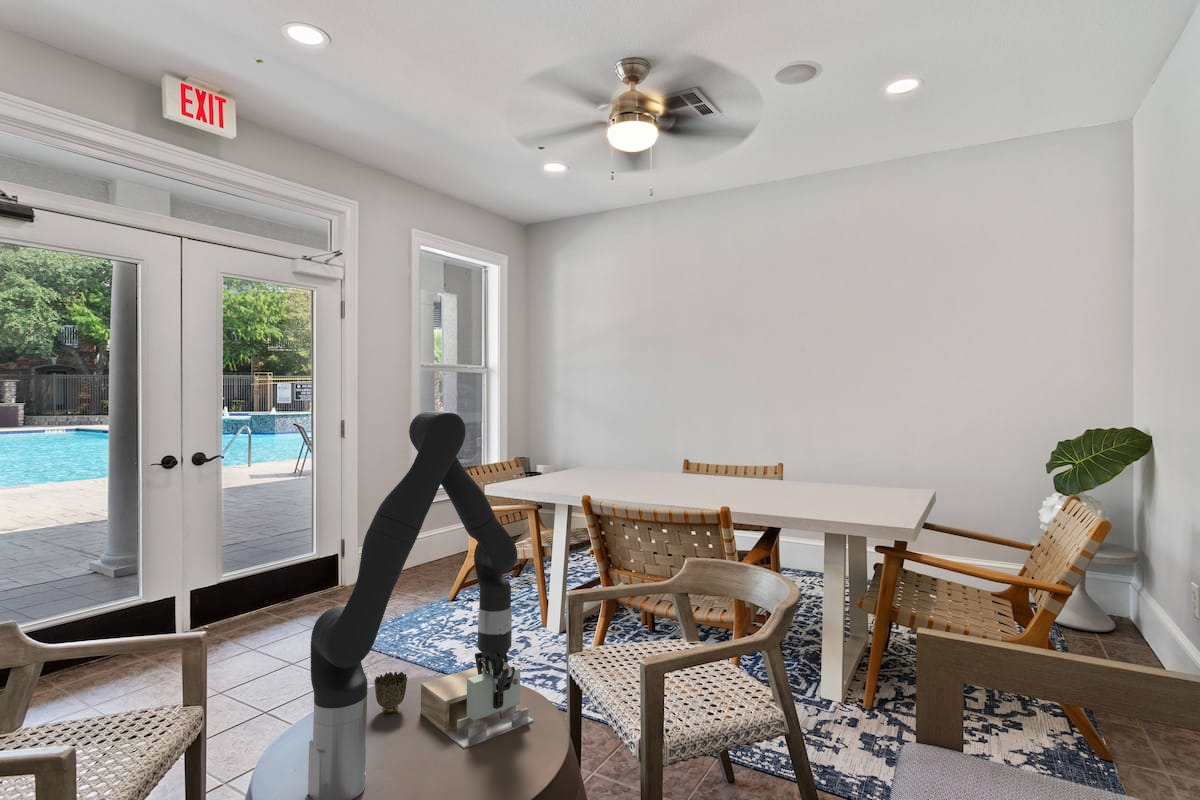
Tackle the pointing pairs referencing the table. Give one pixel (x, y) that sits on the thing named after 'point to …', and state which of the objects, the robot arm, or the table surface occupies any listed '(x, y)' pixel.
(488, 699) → the door
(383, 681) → the cup
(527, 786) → the table surface
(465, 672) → the cabinet
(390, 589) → the robot arm
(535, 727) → the table surface
